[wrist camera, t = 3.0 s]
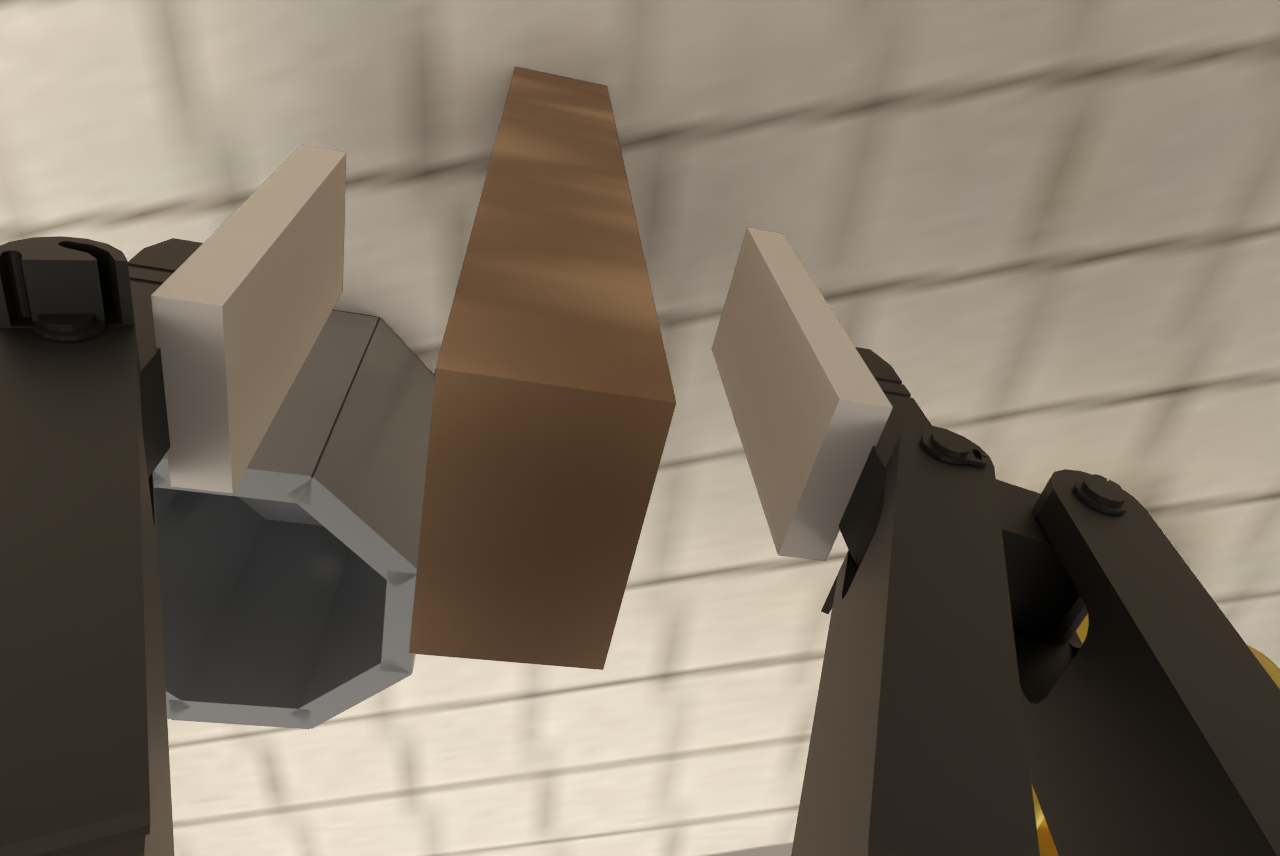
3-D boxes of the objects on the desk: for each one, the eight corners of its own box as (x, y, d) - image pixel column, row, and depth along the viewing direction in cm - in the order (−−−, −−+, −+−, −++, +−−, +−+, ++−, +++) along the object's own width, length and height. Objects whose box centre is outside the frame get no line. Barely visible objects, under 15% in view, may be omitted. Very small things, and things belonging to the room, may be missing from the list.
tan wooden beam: (606, 85, 22) (676, 403, 8) (580, 230, 24) (603, 669, 11) (514, 67, 21) (436, 367, 8) (496, 216, 24) (408, 653, 10)
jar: (465, 330, 25) (430, 490, 19) (441, 544, 30) (406, 735, 23) (160, 283, 24) (2, 439, 17) (183, 516, 28) (65, 712, 22)
